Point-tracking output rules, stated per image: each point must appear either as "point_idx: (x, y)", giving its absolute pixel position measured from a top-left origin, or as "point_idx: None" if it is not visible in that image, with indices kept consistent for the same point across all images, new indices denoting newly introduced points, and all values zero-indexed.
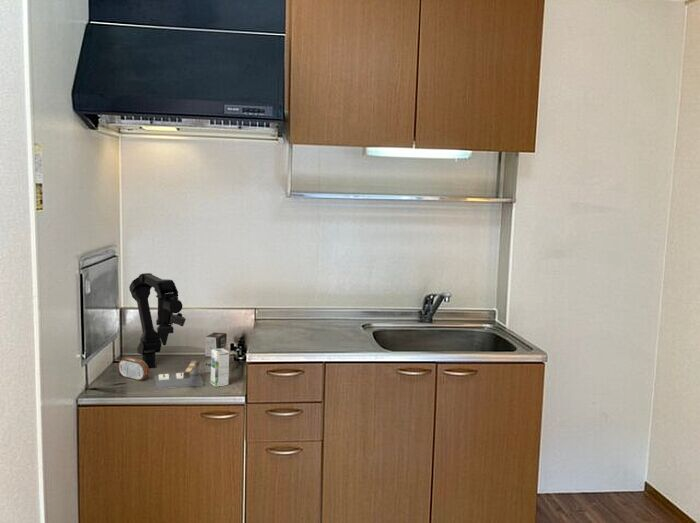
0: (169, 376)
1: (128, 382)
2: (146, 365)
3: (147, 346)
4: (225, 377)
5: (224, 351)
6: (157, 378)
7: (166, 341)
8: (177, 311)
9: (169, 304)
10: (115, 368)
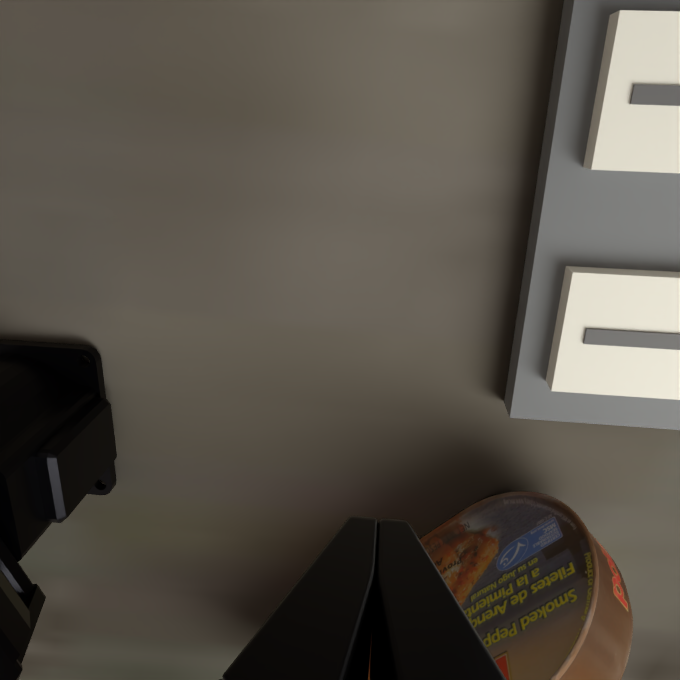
0: (609, 258)
1: None
2: (594, 613)
3: (6, 667)
4: None
5: None
6: (629, 400)
7: (453, 603)
8: None
9: None
10: (89, 663)
